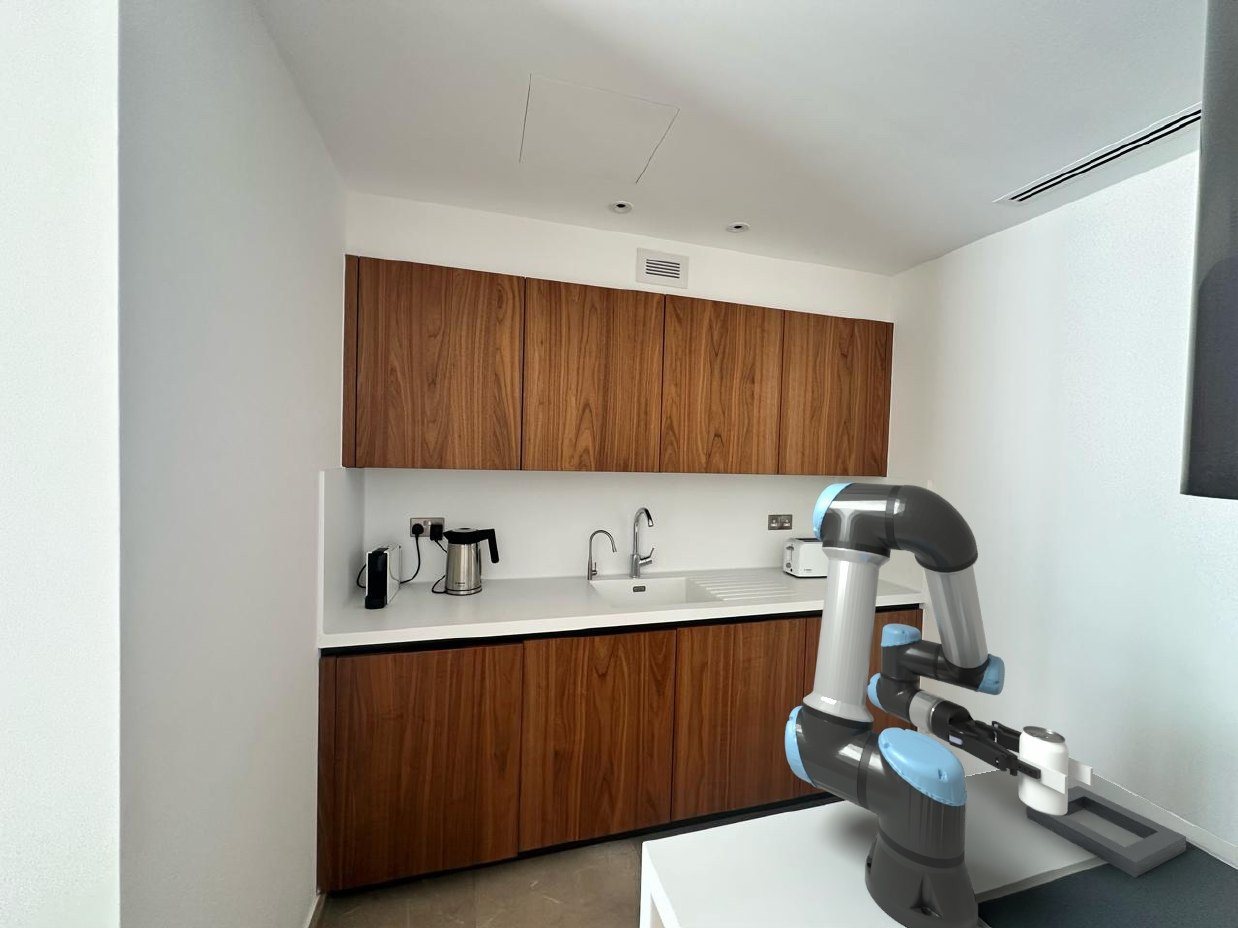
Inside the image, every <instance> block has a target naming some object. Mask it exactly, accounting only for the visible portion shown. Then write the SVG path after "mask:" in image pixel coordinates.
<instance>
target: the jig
mask: <svg viewBox="0 0 1238 928" xmlns="http://www.w3.org/2000/svg"><path fill="white" fill-rule="evenodd" d="M1026 810H1027V811H1026V818H1027V819H1029V820H1031V821H1033V822H1035V823H1037V824H1038V825H1040V826H1042V827H1043V828H1045V829H1047V830H1048V831H1050V832H1053V833H1054V834H1056V835H1057V836H1060V837H1061V838H1063V839H1065V840H1067V841H1069V842H1071V843H1072V844H1074V845H1075V846H1078V847H1079V848H1081V849H1083V850H1085V851H1087V852H1088V853H1090V854H1092V855H1094V856H1095V857H1097V858H1099V859H1101V860H1102V861H1104V862H1106V863H1107V864H1109V865H1112V866H1113V867H1115V868H1117V869H1119V870H1121V871H1122V872H1124V873H1126V874H1128V875H1129V876H1131V877H1132V878H1137V877H1140V876H1141V875H1143V874H1146V872H1148V871H1151V870H1153V869H1154V868H1156V867H1158V866H1161V865H1162V864H1163V863H1166V862H1167V861H1169V860H1171V859H1173V858H1175V857H1177V856H1179V855H1181V854H1183V853H1185V852H1186V851H1187V836H1186V835H1184V834H1183V833H1182V834H1181V833H1180V832H1178V831H1175V830H1173V829H1171V828H1169V827H1167V826H1165V825H1163V824H1160V823H1158V822H1156V821H1154V820H1152V819H1150V818H1147V816H1146V817H1145V816H1143V815H1142V814H1140V813H1136V812H1134V811H1132V810H1131V809H1128V808H1126V807H1125V806H1122V805H1120V804H1118V803H1116V802H1114V801H1112V800H1110V799H1107V798H1105V797H1103V796H1101V795H1098V794H1097V793H1095V792H1093V791H1090V790H1088V789H1086V788H1085V787H1082V786H1079V785H1076V786H1073V787H1070V788H1068V808H1067V813H1066V814H1064V815H1063V816H1051V815H1046V814H1043V813H1040V812H1038V811H1035V810H1033V809H1031V808H1030V807H1028V806H1027V805H1026ZM1081 810H1086V811H1088V812H1091V813H1092V814H1094V815H1096V816H1099V817H1100V818H1102V819H1104V820H1106V821H1109V822H1110V823H1112V824H1114V825H1116V826H1119V827H1121V828H1122V829H1125V830H1126V831H1128V832H1130V833H1132V834H1135V835H1136V836H1137V837H1140V838H1142V839H1140V840H1138V841H1136V842H1134V843H1133V844H1130V845H1128V846H1124V845H1122V844H1120V843H1118V842H1116V841H1114V840H1112V839H1110V838H1108V837H1106V836H1105V835H1103V834H1101V833H1099V832H1097V831H1095V830H1093V829H1092V828H1089V827H1087V826H1086V825H1083V823H1082V824H1081V823H1080V822H1078V821H1076V820H1074V819H1073V818H1070V817H1068V816H1070V815H1072V814H1074V813H1076V812H1079V811H1081Z"/></svg>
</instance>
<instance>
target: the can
mask: <svg viewBox="0 0 1238 928" xmlns="http://www.w3.org/2000/svg"><path fill="white" fill-rule="evenodd" d="M1022 730H1023V731H1022V734H1021V735H1020V746H1019V753H1018V754H1019V755H1018V759H1019V760H1020V756H1022V755H1023V756H1025V757H1027V758H1030V759H1032V760H1034V761H1036V762H1038V763H1041V764H1043V765H1045V766H1047V767H1049V768H1051V769H1054V770H1056V771H1058V772H1060V773H1062V774H1065V775H1067V776H1068V757H1069V748H1068V746H1067V744H1066V738H1065V737H1064V736H1063V735H1062V734H1060V733H1058V732H1056V731H1054V730H1051V729H1048V728H1045V727H1040V726H1037V725H1035V726H1034V725H1026V726H1023V728H1022ZM1068 777H1069V776H1068ZM1018 797H1019V799H1020V801H1021V802H1022V803H1023V804H1024V805H1025V806H1026V807H1027V806H1028V807H1030V808H1031V809H1033V810H1035V811H1038V812H1040V813H1043V814H1046V815H1051V816H1063V815H1064V814H1066V813H1067V808H1068V791H1067V794H1063V793H1061V792H1059V791H1057V790H1055V789H1053V788H1051V787H1049V786H1047V785H1045V784H1043V783H1041V782H1039V781H1037V780H1035V779H1032V778H1030V777H1028V776H1026V775H1024V774H1022V773H1020V771H1018Z"/></svg>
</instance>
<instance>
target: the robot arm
mask: <svg viewBox="0 0 1238 928" xmlns="http://www.w3.org/2000/svg"><path fill="white" fill-rule="evenodd" d="M812 514H813V516H812V526H813V529H812V530H813V535H814V536H815V537H816V539H817V540H818V541H821V542H822V543H821V544H822V546H821V551H822V552H823V554H825V556H826V557H827V558H828V566H827V567H828V568H827V573H826V574H827V575H826V584H825V590H824V591H825V592H824V598H823V599H824V600H823V607H822V616H821V624H820V633H819V639H818V650H817V655H816V657H817V659H816V665H815V674H814V680H813V681H814V682H813V683H814V684H813V690H812V691H811V693H809V694H808V695H806V696H804V697H803V700H802V704H801V705H799V706H798V705H797V706H796V707H795V708H793V709H792V711H790V714H789V717H788V718H789V720H788V721H787V723H786V724H785V731H784V733H785V734H784V748H785V749H784V750H785V754H786V756H785V757H786V760H787V762H788V764H789V766H790V769H791V771H792V772H793V774H794V775H795V776H796V777H798V778H799V779H801V780H803V781H804V782H807V783H809V784H811V785H812V786H813V787H815V788H817V790H823V791H825V792H826V793H827V792H828V793H829V794H832V795H834V796H837V797H839V798H841V799H843V800H845V801H847V802H849V803H851V804H854V805H856V806H858V807H861V808H863V809H865V810H867V811H868V812H872V813H874V814H876V815H877V820H878V821H877V833H876V835H875V837H874V841H873V842H872V845H871V846H870V849H869V851H868V854H867V856H866V860H865V865H864V883H865V886H866V889H867V891H868V893H869V895H870V897H871V899H873V901H874V902H875V903H876V904H877V906H878V907H880V909H881V910H883V911H884V912H885V913H886V914H887V915H889V916H890V917H891V918H893V919H894V920H895V921H897V922H898V923H900V924H902V925H903V926H906V927H907V928H977V926H978V923H979V922H978V921H979V919H978V917H979V906H978V905H979V904H978V900H977V896H976V894H975V892H974V889H973V885H972V882H971V878H970V875H969V872H968V867H967V865H966V862H965V846H966V844H965V843H966V806H967V804H966V803H967V800H968V793H967V790H966V773H965V768H964V767H963V765H962V764H963V763H962V762H961V761H960V759H959V758H958V757H957V756H956V755H955V753H953V751H952V750H951V749H949V748H948V747H947V746H945V745H944V744H942V743H941V742H939V741H938V740H936V739H934V738H933V737H930V736H927V735H925V734H928V735H929V734H932V735H933V736H935V737H937V738H938V739H941V740H942V741H944V742H946V743H948V744H949V745H950V746H952V747H955V748H957V749H960V750H963V751H964V752H966V753H968V754H970V755H971V756H973V757H975V758H977V759H979V760H980V761H983V762H984V763H986V764H987V765H990V766H992V767H994V768H995V769H997V770H999V771H1001V772H1005V773H1006V772H1007V770H1009V775H1010V776H1013V777H1019V771H1020V773H1022V774H1024V775H1026V776H1028V777H1030V778H1032V779H1035V780H1037V781H1039V782H1041V783H1043V784H1045V785H1047V786H1049V787H1051V788H1053V789H1055V790H1057V791H1059V792H1061V793H1063V794H1067V791H1068V789H1069V777H1071V778H1073V779H1074V780H1077V781H1080V782H1082V783H1083V784H1086V785H1088V786H1093V785H1094V768H1093V767H1092V766H1089V765H1087V764H1085V763H1083V762H1080V761H1078V760H1075V759H1073V758H1071V757H1069V756H1068V776H1067V775H1065V774H1062V773H1060V772H1058V771H1056V770H1054V769H1051V768H1049V767H1047V766H1045V765H1043V764H1041V763H1038V762H1036V761H1034V760H1032V759H1030V758H1027V757H1025V756H1023V755H1022V756H1020V760H1019V755H1017V754H1019V746H1020V735H1021V734H1022V732H1023V731H1022V732H1021V731H1019V730H1017V729H1014V728H1012V727H1008V726H1006V725H1004V724H1002V723H1000V722H999V721H996V720H991V724H987V723H986V722H984V721H981V720H978V719H974V718H973V717H972V715H971V713H970V712H969V709H968V708H966V707H965V706H964V705H960V704H958V703H956V702H953V701H951V700H947V699H945V698H944V697H941V696H939V695H937V694H934V693H932V692H929V691H927V690H924V689H923V688H920V686H919V685H920V679H921V678H920V677H922V678H926V679H929V680H933V681H937V682H940V683H941V682H942V683H944V684H949V685H953V686H956V687H959V688H962V689H966V690H970V691H974V692H975V693H982V694H987V695H992V696H998V695H1000V694H1001V693H1002V691H1003V689H1004V686H1005V685H1004V684H1005V678H1006V677H1005V676H1006V675H1005V673H1006V672H1005V671H1006V670H1005V669H1006V668H1005V663H1004V660H1003V659H1002V658H1001V657H1000V656H997V655H993V654H992V653H988V652H989V651H988V645H987V641H986V635H985V629H984V622H983V616H982V610H981V605H980V600H979V599H980V598H979V593H978V587H977V581H976V576H975V571H974V570H975V569H974V565H975V564H976V562H977V561H978V559H979V553H978V545H977V541H976V538H975V535H974V533H973V530H972V528H971V527H970V525H969V523H968V522H967V521H966V519H965V518H964V516H963V515H962V513H960V512H959V511H958V509H957V508H955V506H954V505H952V504H951V503H950V502H949V501H948V500H947V499H945V498H944V497H942V495H940V494H939V493H936V492H934V491H933V490H930V489H928V488H925V487H922V486H918V485H913V484H903V485H901V484H885V483H884V484H882V483H866V482H865V483H864V482H863V483H862V482H854V481H853V482H848V483H833V484H831V485H829V486H827V487H826V488H825V489H824V490H823V491H822V492H821V493H820V496H819V497H818V499H817V501H816V502H815V506H814V510H813V513H812ZM892 550H895V551H906V552H911V553H912V554H914V559H915V562H916V563H917V564H918V565H919V566H920V567H921V568H922V569H923V570H924V574H925V578H926V582H927V583H926V584H927V588H928V591H929V596H930V599H931V604H932V608H933V613H934V617H935V622H936V626H937V630H938V635H939V639H940V643H939V642H934V641H931V640H926V639H922V638H923V637H922V634H921V631H920V630H919V629H918V628H917V627H915V626H912V625H911V626H910V625H907V624H901V623H888V624H886V625H884V626H883V627H882V635H881V643H880V672H879V673H875V674H874V675H873V676H872V677H871V678H870V680H869V673H870V662H871V651H872V644H873V643H872V642H873V635H874V634H873V633H874V626H875V624H874V623H875V616H876V615H875V614H876V605H877V597H878V596H877V595H878V586H879V585H878V584H879V576H880V569H881V567H882V566H884V565H885V564H887V563H888V562H890V560H891V553H892V552H891V551H892ZM868 681H869V682H868ZM868 684H869V685H868ZM867 695H868V699H869V702H871V703H872V704H873V706H874V707H876V708H877V707H878V708H879V709H881V710H882V711H884V712H885V713H887V715H888V714H889V715H891V716H894V717H896V718H898V719H900V720H902V721H904V722H907V723H908V724H911V725H913V726H915V727H917V728H918V729H920V730H923V731H924V732H925V734H923V733H921V732H918V731H915V730H912V729H907V728H906V729H905V730H904V729H902V728H900V727H888V728H885V729H884V730H883V731H881V733H878V732H875V731H874V716H873V715H872V714H871V712H870V710H869V709H868V707H867V705H866V703H867V702H866V700H867ZM1015 753H1017V754H1015Z"/></svg>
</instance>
